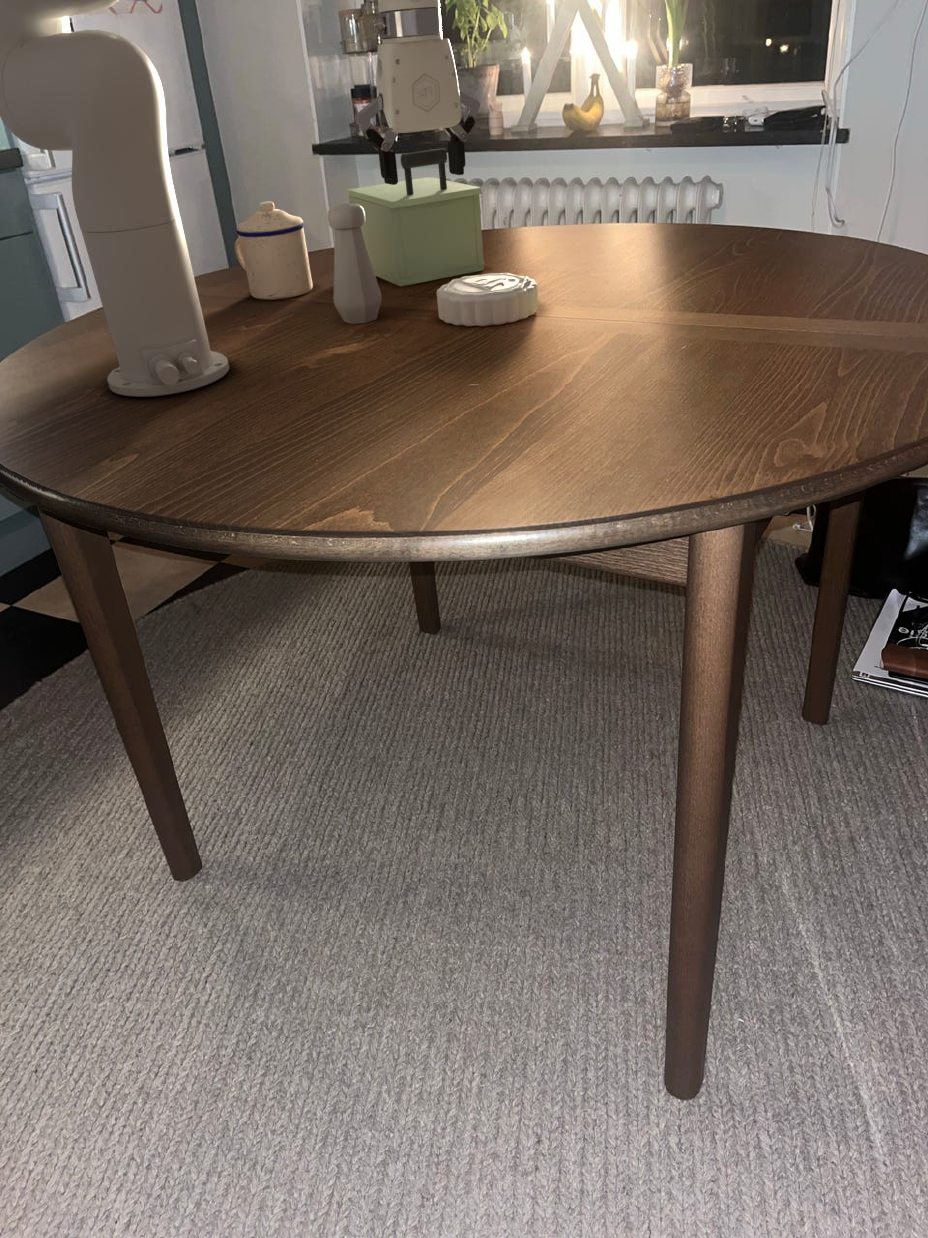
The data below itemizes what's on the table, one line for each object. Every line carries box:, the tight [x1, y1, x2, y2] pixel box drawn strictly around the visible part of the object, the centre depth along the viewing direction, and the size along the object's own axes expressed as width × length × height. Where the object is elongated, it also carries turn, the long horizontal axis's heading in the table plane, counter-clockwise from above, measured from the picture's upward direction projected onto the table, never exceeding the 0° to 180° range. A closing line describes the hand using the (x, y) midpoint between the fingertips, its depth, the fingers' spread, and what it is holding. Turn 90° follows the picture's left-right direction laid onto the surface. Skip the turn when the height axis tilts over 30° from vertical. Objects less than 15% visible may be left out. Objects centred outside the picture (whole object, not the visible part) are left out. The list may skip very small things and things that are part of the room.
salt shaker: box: [327, 203, 383, 325], centre depth 112 cm, size 6×6×13 cm
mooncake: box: [435, 272, 539, 327], centre depth 112 cm, size 12×12×4 cm
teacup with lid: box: [234, 200, 314, 301], centre depth 129 cm, size 12×9×12 cm
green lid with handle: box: [347, 147, 483, 208], centre depth 129 cm, size 17×13×6 cm
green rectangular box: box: [348, 194, 485, 287], centre depth 134 cm, size 16×13×10 cm
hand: (424, 178), depth 126 cm, fingers open, 9 cm apart
